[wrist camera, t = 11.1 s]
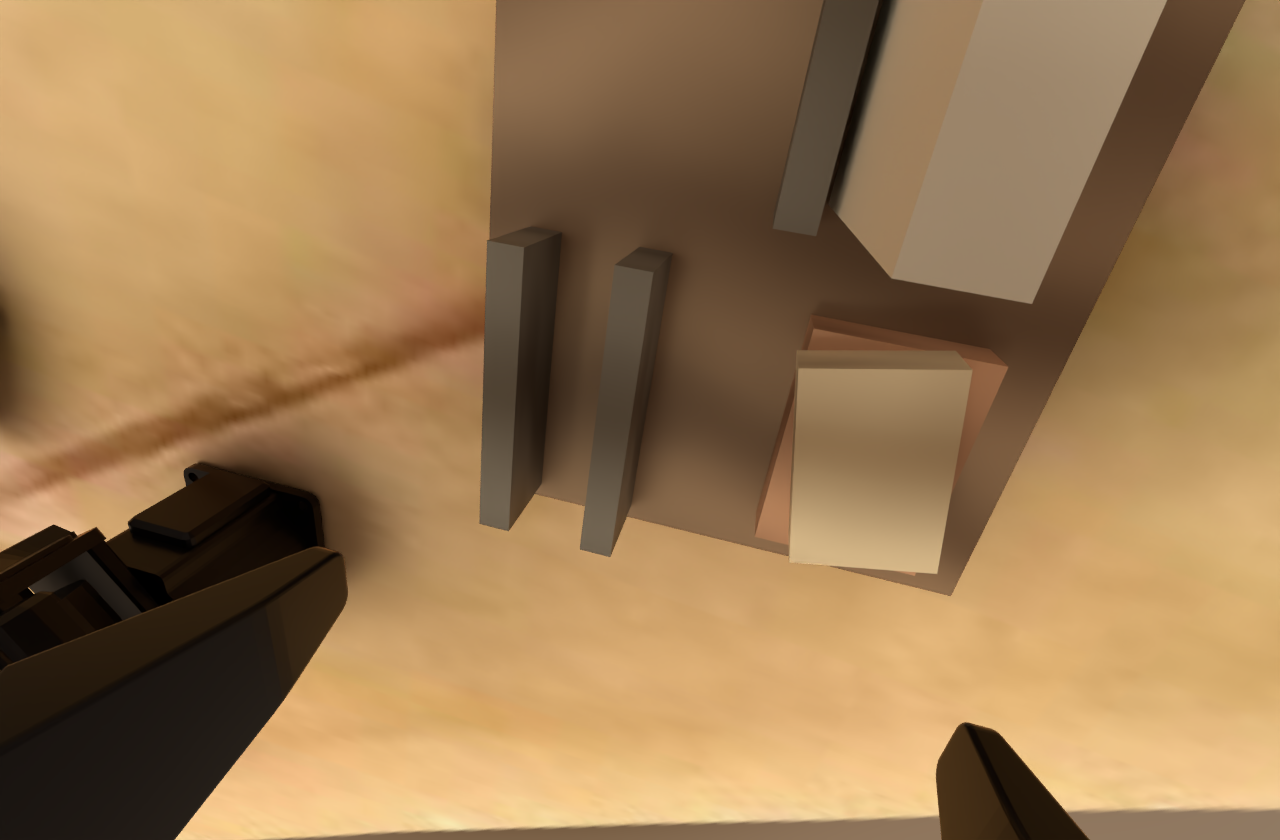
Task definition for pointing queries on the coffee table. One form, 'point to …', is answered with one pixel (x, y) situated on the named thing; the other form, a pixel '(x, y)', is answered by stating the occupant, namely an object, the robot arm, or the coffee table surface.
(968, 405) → the cedar offcut
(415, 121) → the coffee table surface
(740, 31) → the walnut rack
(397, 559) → the coffee table surface
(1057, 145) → the off-white sheet
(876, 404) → the birch offcut
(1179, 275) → the coffee table surface
